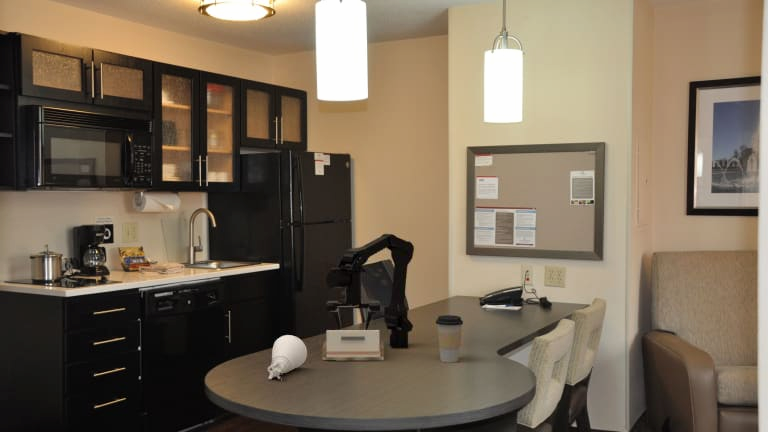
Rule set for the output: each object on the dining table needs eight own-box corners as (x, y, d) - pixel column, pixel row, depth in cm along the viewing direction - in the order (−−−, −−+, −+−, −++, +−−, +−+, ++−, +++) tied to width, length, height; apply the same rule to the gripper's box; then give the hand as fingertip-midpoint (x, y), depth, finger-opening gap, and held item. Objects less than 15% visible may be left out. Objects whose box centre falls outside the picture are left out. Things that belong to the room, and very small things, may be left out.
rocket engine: (273, 351, 218) (290, 328, 235) (247, 373, 221) (265, 348, 238) (299, 379, 219) (314, 354, 236) (273, 400, 222) (289, 374, 239)
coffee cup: (465, 358, 251) (465, 315, 250) (459, 364, 242) (459, 320, 241) (439, 356, 254) (439, 314, 253) (432, 362, 245) (432, 318, 244)
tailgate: (379, 356, 248) (379, 330, 247) (379, 357, 246) (379, 331, 246) (326, 356, 247) (326, 330, 247) (326, 357, 245) (326, 331, 245)
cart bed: (382, 352, 260) (382, 340, 260) (383, 360, 248) (383, 348, 248) (324, 352, 260) (324, 341, 260) (322, 360, 248) (322, 348, 247)
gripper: (379, 283, 261) (379, 326, 262) (327, 283, 261) (327, 326, 261) (380, 287, 250) (380, 331, 250) (326, 287, 249) (326, 332, 250)
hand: (353, 330), depth 253 cm, fingers open, 9 cm apart
